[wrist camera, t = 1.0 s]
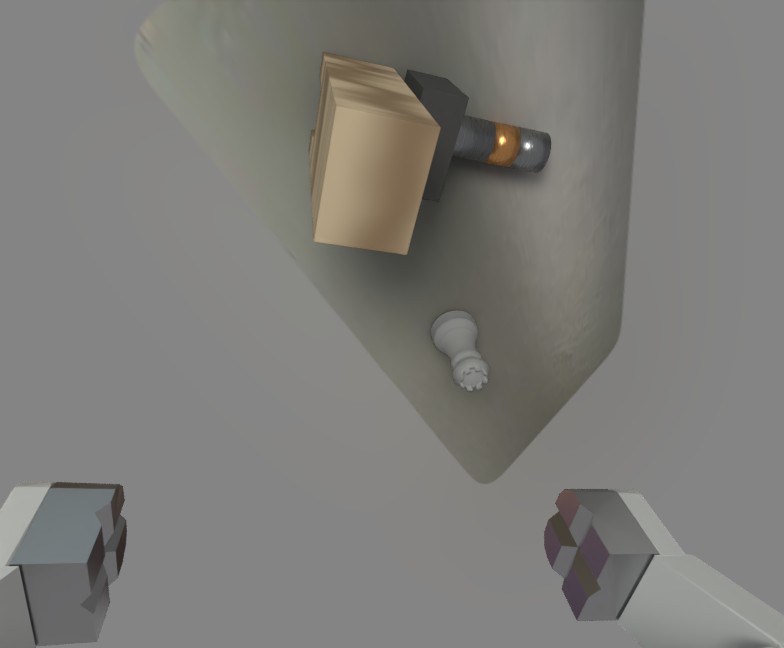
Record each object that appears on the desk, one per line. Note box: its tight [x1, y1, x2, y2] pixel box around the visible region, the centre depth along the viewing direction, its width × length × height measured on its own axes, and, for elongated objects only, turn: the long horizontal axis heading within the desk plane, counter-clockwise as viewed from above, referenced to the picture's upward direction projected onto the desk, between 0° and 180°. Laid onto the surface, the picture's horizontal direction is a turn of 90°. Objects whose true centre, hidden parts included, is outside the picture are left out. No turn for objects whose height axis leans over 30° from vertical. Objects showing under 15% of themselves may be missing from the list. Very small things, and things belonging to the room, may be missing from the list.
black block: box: [405, 70, 469, 202], centre depth 39 cm, size 3×7×6 cm, turn 166°
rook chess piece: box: [431, 310, 490, 392], centre depth 50 cm, size 4×4×8 cm
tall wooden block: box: [309, 52, 441, 255], centre depth 34 cm, size 5×7×16 cm
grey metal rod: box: [452, 115, 551, 173], centre depth 41 cm, size 15×3×3 cm, turn 77°
